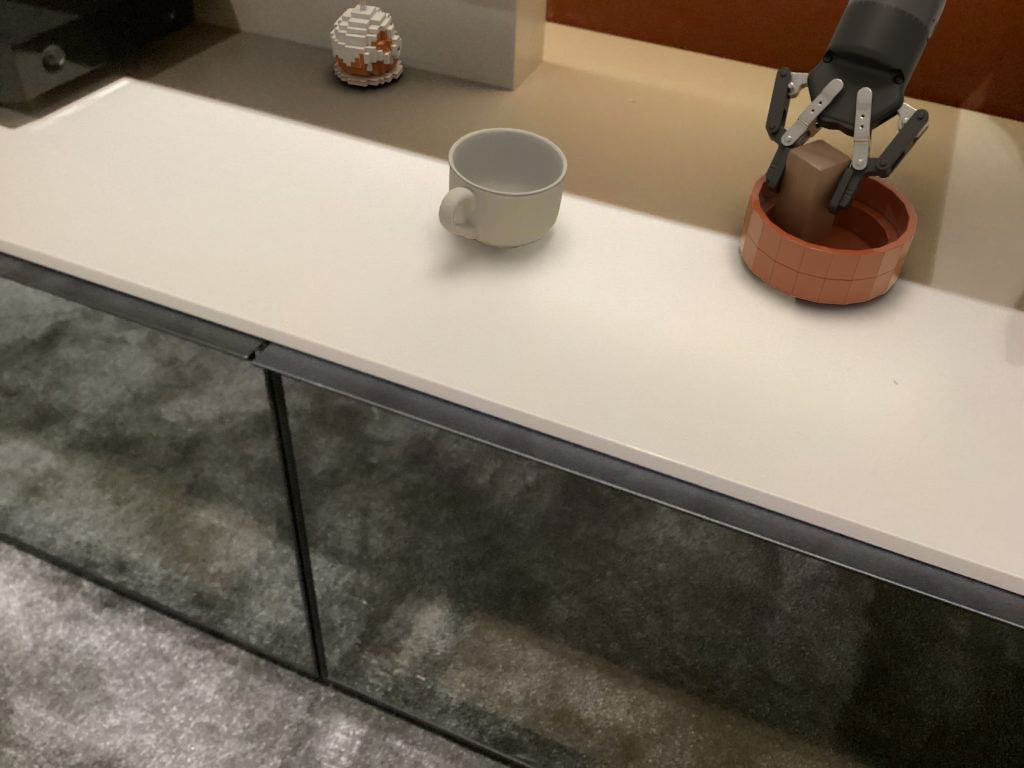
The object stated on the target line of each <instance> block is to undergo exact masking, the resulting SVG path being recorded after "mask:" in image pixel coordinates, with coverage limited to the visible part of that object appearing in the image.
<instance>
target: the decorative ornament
mask: <svg viewBox="0 0 1024 768" xmlns="http://www.w3.org/2000/svg"><path fill="white" fill-rule="evenodd" d="M329 36H330V45H331V53H332V57H333V58H335V60H336V62H335V63H334V64H333V70H334V75H335V76H337V78H338V79H340V81H342V82H347V84H348V85H354V86H360V87H367V86H368V85H371V86H379V84H381V85H384V84H385V83H391V81H393V79H395V80H397V79H398V78H399V77H400V76H401V74H402V72H403V71H404V65H402V60H399V58H400V56H401V52H402V51H401V50H402V48H403V43H402V37H401V35H398V30H396V27H395V25H394V23H393V21H392V16H391V15H390V12H389V13H388V12H384V11H383V10H382V9H381V7H378V6H373V5H367V0H359V4H356V5H355V6H354V8H351V7H348V8H347V9H346V11H344V12H343V13H342V14H341V15H340V16H339V17H338V18H337V20H335V22H334V24H333V29H332V30H331V31H330V32H329Z"/></svg>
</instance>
